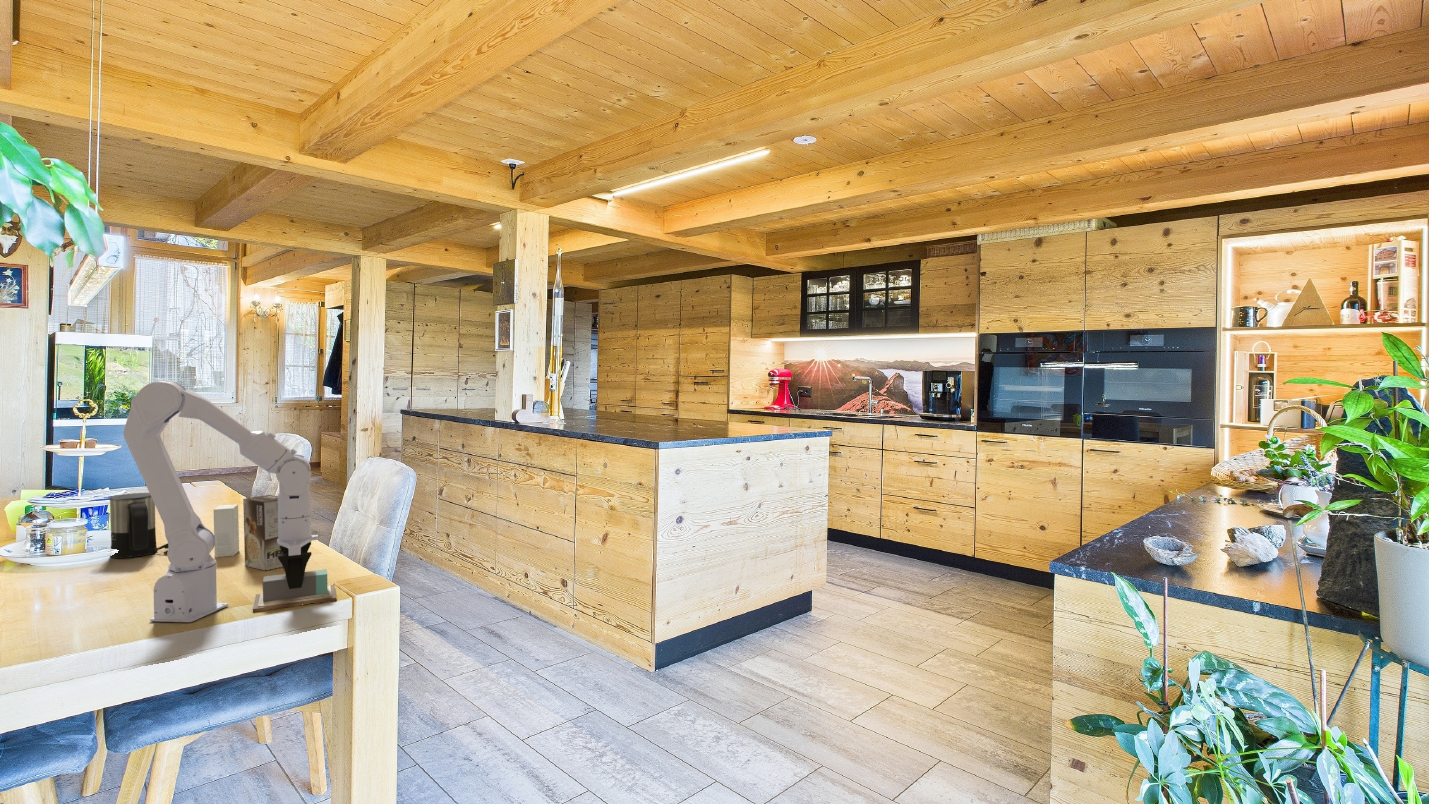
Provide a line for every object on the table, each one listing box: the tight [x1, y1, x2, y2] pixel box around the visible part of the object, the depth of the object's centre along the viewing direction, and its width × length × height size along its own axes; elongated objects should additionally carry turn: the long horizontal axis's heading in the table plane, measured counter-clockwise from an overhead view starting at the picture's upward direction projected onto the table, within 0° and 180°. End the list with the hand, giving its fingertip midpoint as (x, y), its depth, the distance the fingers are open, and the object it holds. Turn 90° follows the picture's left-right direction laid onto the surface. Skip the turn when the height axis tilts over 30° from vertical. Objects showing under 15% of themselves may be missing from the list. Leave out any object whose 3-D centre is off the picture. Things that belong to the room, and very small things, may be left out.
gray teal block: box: [262, 568, 328, 602], centre depth 140 cm, size 11×4×4 cm, turn 121°
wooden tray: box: [252, 584, 337, 613], centre depth 140 cm, size 14×10×1 cm
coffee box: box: [242, 494, 283, 571], centre depth 164 cm, size 9×6×16 cm
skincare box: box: [213, 503, 240, 558], centre depth 173 cm, size 6×4×12 cm
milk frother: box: [107, 492, 169, 559], centre depth 174 cm, size 14×16×15 cm
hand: (295, 582), depth 140 cm, fingers open, 7 cm apart
